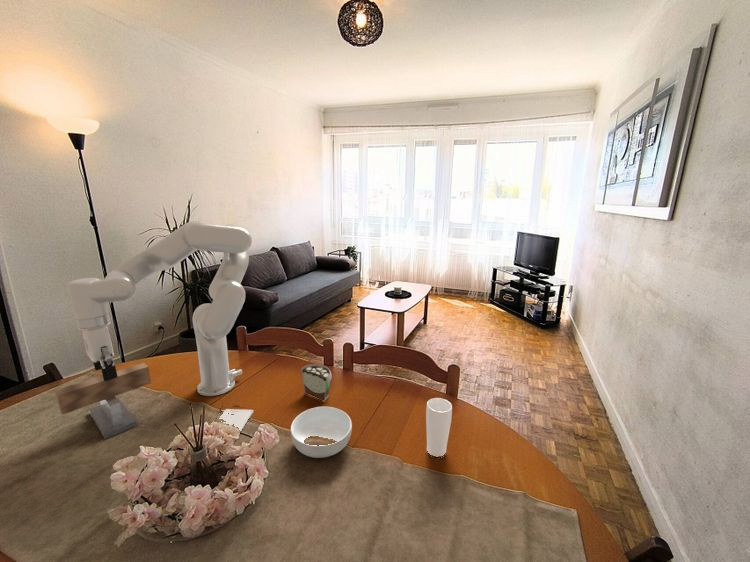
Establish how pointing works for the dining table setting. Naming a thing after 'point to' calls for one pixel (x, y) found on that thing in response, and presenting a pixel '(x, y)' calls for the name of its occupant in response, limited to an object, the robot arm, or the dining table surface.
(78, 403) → the walnut bar
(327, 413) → the cereal bowl
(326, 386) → the food container
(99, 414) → the balance stand
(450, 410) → the drinking glass
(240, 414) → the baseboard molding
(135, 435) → the dining table surface
